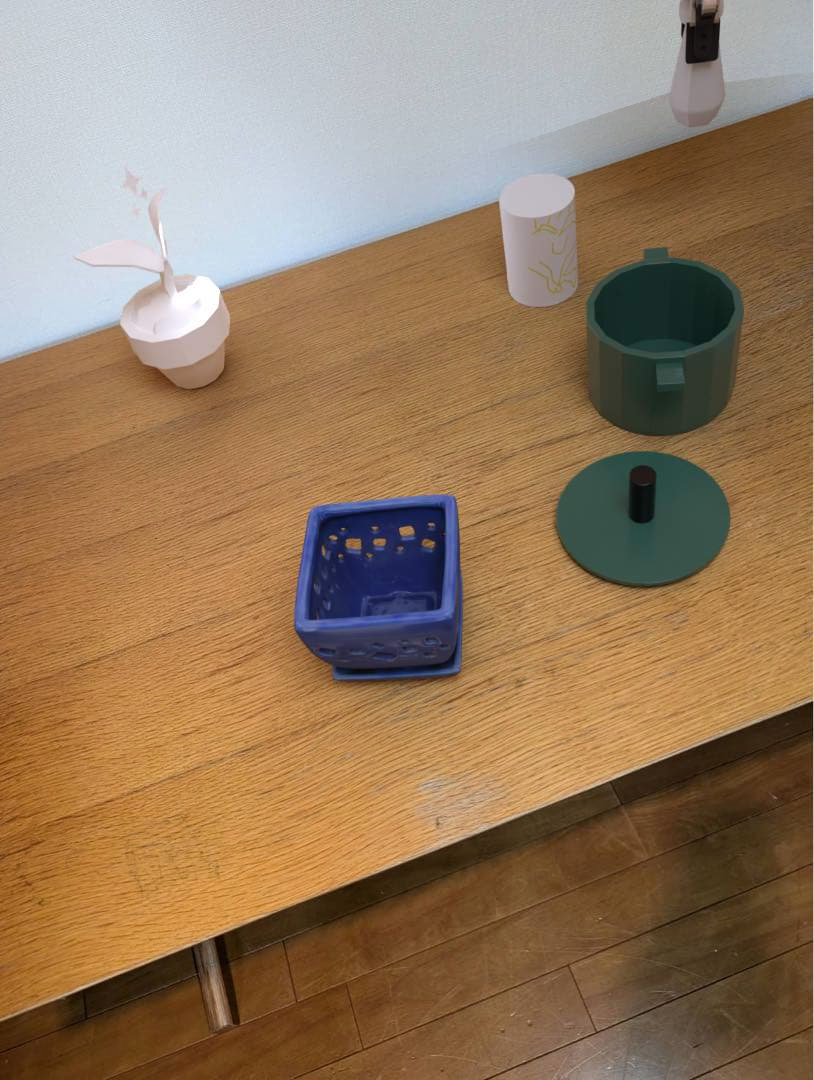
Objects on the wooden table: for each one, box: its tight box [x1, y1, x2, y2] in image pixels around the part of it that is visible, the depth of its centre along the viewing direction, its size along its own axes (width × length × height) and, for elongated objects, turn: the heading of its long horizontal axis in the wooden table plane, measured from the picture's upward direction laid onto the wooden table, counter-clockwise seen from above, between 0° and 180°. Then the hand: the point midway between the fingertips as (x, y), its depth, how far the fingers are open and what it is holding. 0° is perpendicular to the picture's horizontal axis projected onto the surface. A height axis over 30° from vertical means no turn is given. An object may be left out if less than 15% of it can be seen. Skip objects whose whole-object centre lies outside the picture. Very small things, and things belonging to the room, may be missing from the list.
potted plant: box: [73, 166, 231, 390], centre depth 107 cm, size 13×12×25 cm
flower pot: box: [293, 494, 464, 682], centre depth 85 cm, size 13×13×12 cm
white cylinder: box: [498, 172, 579, 308], centre depth 112 cm, size 8×8×12 cm
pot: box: [585, 246, 745, 437], centre depth 99 cm, size 15×20×10 cm
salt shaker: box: [668, 0, 726, 129], centre depth 103 cm, size 6×6×13 cm
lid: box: [555, 450, 731, 587], centre depth 91 cm, size 16×16×7 cm
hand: (699, 47), depth 102 cm, fingers closed on salt shaker, 4 cm apart
